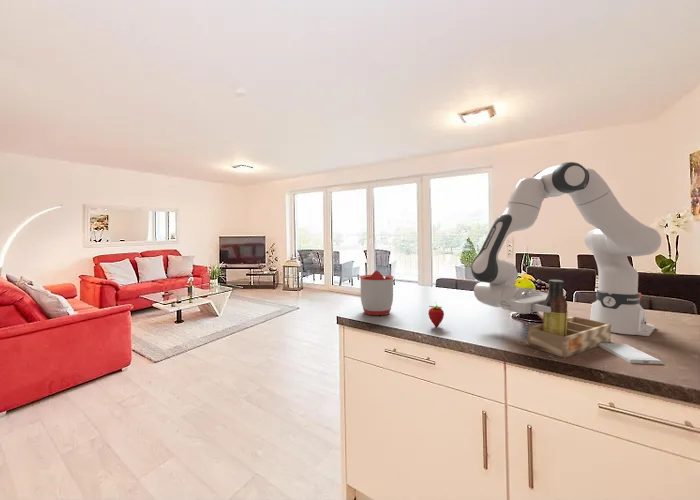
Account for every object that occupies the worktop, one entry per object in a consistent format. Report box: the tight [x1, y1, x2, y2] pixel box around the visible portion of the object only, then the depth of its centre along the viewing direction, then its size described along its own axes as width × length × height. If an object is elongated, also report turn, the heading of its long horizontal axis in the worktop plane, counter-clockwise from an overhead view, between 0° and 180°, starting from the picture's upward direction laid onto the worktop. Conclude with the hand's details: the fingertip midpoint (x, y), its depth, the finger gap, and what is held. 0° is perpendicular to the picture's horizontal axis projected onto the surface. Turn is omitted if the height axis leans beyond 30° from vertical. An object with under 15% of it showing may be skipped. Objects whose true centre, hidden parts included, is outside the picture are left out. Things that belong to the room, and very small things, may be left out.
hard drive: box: [598, 342, 663, 365], centre depth 89 cm, size 2×8×12 cm
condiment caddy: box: [527, 315, 612, 359], centre depth 97 cm, size 27×12×6 cm, turn 117°
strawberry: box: [428, 303, 445, 328], centre depth 116 cm, size 6×8×10 cm
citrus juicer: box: [359, 270, 394, 316], centre depth 138 cm, size 16×17×20 cm
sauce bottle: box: [542, 279, 569, 337], centre depth 93 cm, size 7×6×20 cm
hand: (558, 308), depth 92 cm, fingers closed on sauce bottle, 6 cm apart
